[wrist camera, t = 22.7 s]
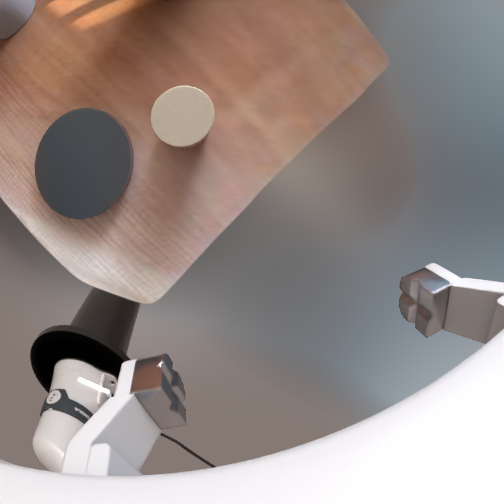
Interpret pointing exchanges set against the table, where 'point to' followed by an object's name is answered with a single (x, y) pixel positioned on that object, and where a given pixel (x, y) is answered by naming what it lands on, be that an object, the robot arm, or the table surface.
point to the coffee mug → (14, 15)
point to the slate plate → (83, 163)
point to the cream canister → (182, 117)
